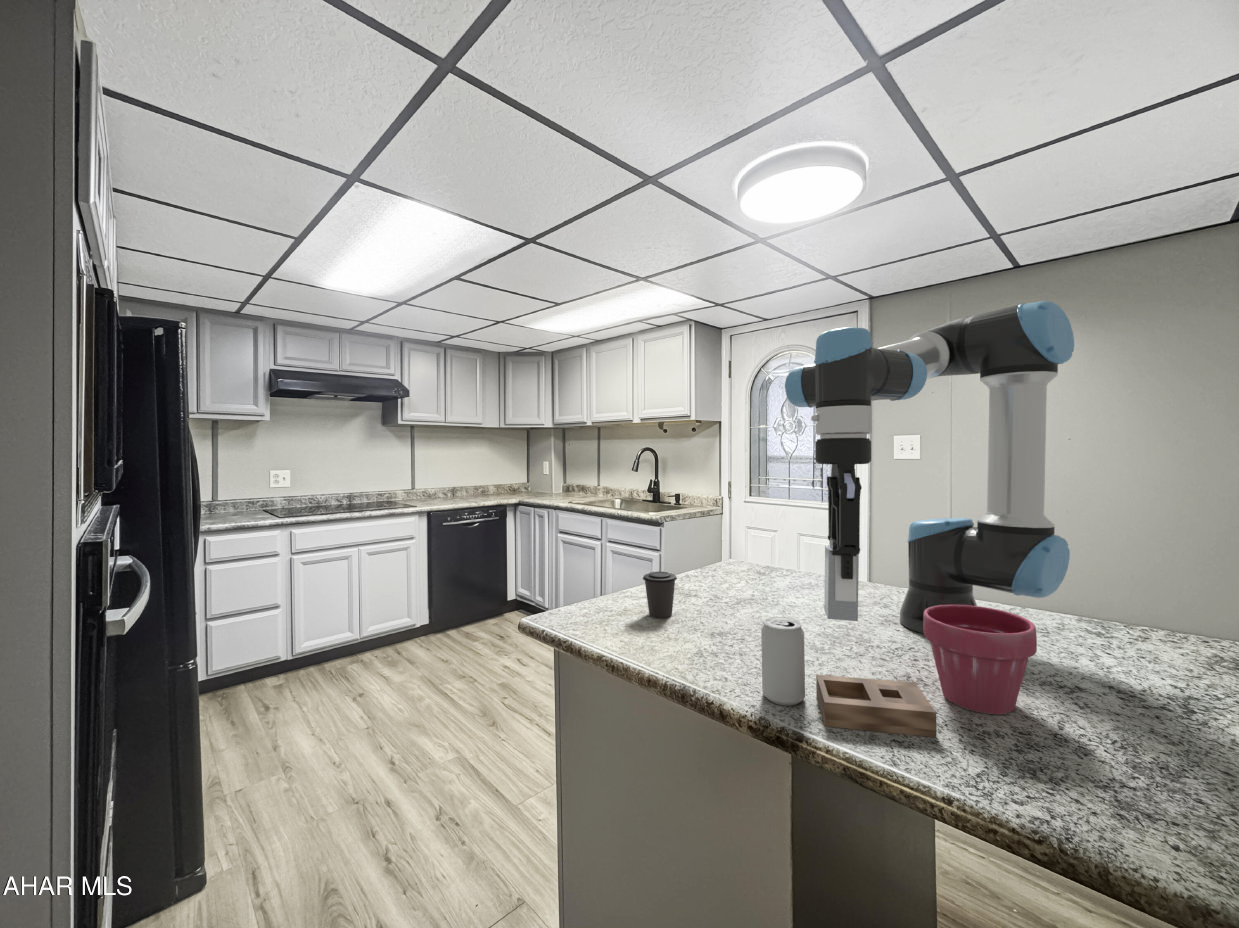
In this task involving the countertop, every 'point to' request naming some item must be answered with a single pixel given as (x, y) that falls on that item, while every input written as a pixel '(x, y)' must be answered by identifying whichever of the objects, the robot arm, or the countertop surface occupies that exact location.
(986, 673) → the plant pot
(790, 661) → the beverage can
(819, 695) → the socket block
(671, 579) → the coffee cup
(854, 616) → the grey square peg
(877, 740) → the countertop surface
